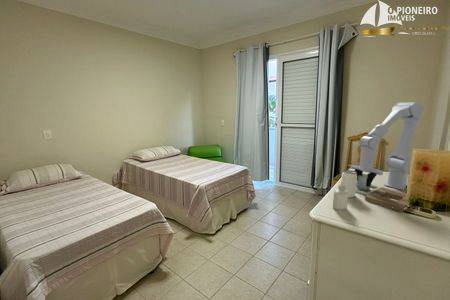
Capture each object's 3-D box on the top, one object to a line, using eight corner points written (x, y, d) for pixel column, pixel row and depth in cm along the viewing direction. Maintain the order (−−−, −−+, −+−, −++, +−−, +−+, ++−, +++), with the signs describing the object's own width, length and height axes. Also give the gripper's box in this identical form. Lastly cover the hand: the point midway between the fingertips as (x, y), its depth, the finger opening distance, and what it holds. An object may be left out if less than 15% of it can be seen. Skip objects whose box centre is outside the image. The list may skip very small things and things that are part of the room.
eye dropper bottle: (348, 211, 86) (351, 184, 84) (333, 209, 88) (335, 183, 86) (346, 206, 90) (349, 180, 88) (331, 205, 92) (334, 179, 90)
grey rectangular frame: (358, 183, 116) (358, 181, 116) (380, 189, 108) (381, 187, 107) (345, 188, 109) (345, 186, 109) (368, 195, 100) (368, 193, 100)
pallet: (381, 190, 106) (382, 187, 105) (417, 200, 94) (418, 196, 94) (364, 200, 96) (365, 196, 96) (402, 212, 85) (403, 207, 84)
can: (357, 198, 98) (360, 174, 96) (342, 197, 99) (344, 173, 97) (351, 192, 104) (354, 170, 102) (337, 192, 106) (340, 169, 103)
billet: (361, 186, 111) (362, 173, 110) (369, 188, 108) (371, 175, 107) (356, 188, 109) (358, 175, 107) (365, 190, 105) (366, 177, 104)
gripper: (347, 158, 109) (345, 182, 112) (379, 164, 97) (376, 191, 100) (354, 156, 113) (352, 179, 115) (386, 161, 101) (382, 187, 104)
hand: (363, 184), depth 108 cm, fingers closed on billet, 4 cm apart
